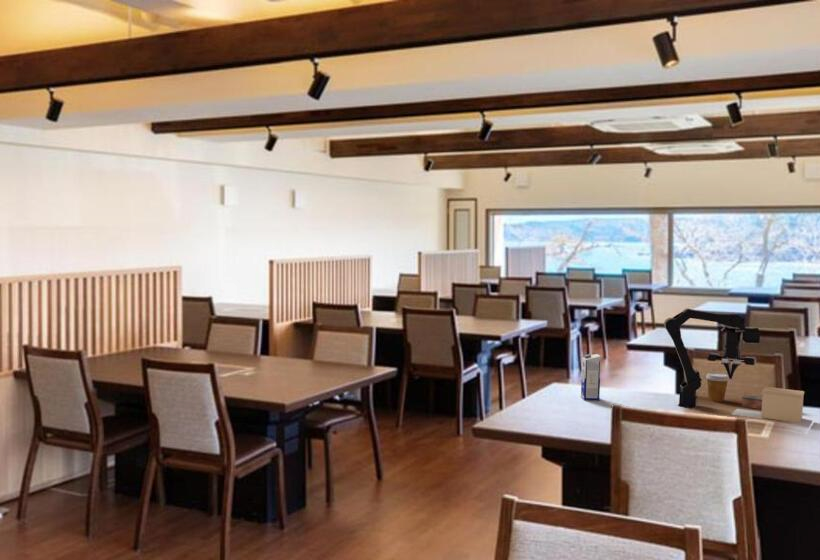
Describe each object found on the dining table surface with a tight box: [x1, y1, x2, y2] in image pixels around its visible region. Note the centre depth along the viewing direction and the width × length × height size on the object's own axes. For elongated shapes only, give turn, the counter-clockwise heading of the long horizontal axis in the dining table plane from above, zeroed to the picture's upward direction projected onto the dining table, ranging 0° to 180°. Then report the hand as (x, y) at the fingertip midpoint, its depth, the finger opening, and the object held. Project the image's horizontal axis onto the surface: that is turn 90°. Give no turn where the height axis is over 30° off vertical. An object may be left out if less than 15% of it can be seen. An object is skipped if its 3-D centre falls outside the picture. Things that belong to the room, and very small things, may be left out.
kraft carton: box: [760, 386, 805, 423], centre depth 316 cm, size 14×9×11 cm, turn 57°
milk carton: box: [580, 353, 602, 402], centre depth 346 cm, size 7×7×20 cm
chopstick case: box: [741, 394, 762, 410], centre depth 333 cm, size 20×5×5 cm, turn 57°
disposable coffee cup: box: [705, 372, 730, 403], centre depth 348 cm, size 10×10×12 cm
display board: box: [731, 408, 764, 420], centre depth 320 cm, size 24×13×1 cm, turn 57°
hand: (730, 378), depth 332 cm, fingers closed
